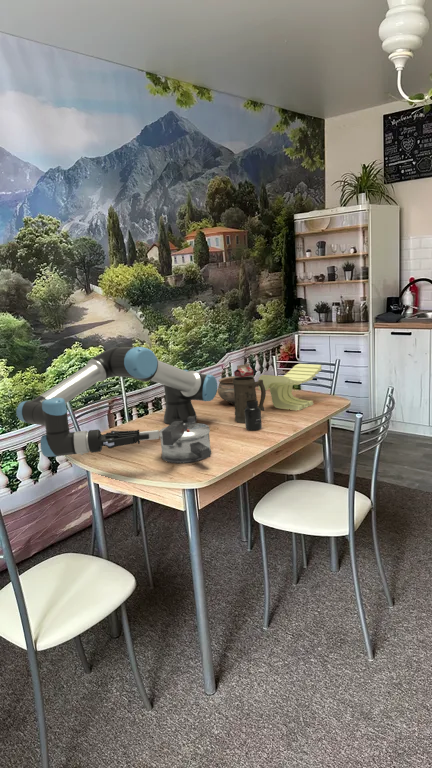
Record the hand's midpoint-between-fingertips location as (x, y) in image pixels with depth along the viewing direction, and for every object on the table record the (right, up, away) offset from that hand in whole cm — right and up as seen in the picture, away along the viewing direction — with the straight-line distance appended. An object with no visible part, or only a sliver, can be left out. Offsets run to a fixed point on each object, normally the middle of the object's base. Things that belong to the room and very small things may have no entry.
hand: (158, 434), depth 184 cm
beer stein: (+35, +1, +59) cm, 69 cm away
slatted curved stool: (+56, +6, +77) cm, 96 cm away
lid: (+7, -2, +12) cm, 14 cm away
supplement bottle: (+35, -2, +43) cm, 56 cm away
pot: (+10, -10, +14) cm, 20 cm away
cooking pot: (+30, +7, +93) cm, 98 cm away
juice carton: (+34, +5, +77) cm, 85 cm away
